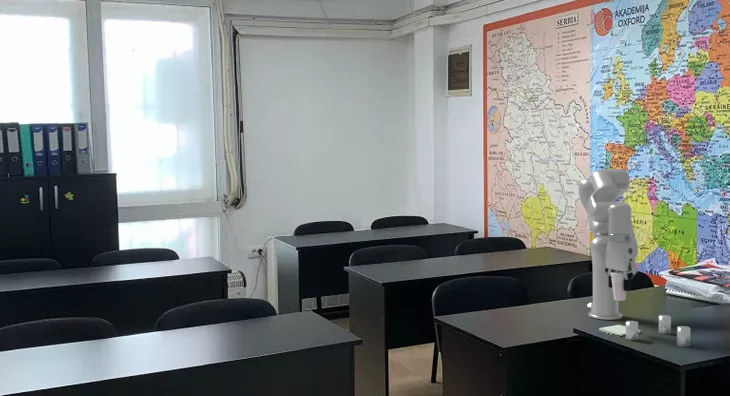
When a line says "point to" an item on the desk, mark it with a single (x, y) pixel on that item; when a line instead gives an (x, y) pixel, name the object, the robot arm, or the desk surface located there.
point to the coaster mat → (615, 330)
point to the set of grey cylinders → (661, 330)
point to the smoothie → (618, 285)
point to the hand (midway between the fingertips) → (619, 288)
